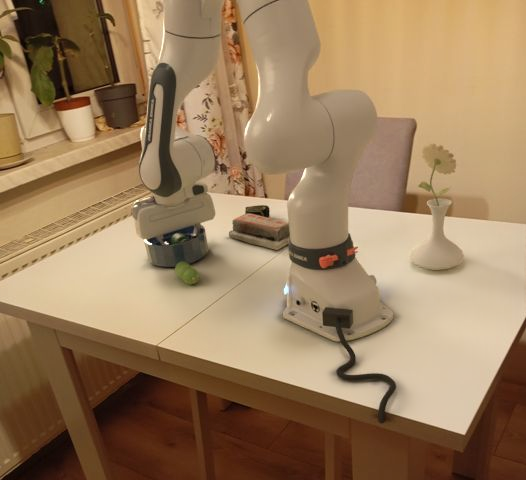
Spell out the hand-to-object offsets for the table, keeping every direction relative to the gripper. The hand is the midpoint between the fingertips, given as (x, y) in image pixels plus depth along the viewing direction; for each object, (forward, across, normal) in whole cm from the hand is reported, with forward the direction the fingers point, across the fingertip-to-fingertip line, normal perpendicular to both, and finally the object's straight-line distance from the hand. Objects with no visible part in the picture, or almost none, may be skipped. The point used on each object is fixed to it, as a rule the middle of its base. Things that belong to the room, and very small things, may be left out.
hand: (181, 245), depth 144 cm
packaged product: (+3, +21, -6) cm, 22 cm away
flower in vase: (+3, +40, -46) cm, 62 cm away
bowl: (+3, -1, 0) cm, 3 cm away
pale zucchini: (+3, -5, -15) cm, 16 cm away
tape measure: (+3, +26, +7) cm, 27 cm away
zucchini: (+2, 0, 0) cm, 2 cm away
